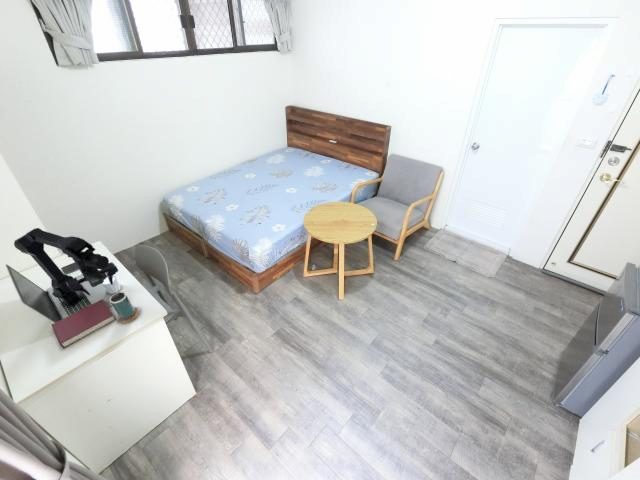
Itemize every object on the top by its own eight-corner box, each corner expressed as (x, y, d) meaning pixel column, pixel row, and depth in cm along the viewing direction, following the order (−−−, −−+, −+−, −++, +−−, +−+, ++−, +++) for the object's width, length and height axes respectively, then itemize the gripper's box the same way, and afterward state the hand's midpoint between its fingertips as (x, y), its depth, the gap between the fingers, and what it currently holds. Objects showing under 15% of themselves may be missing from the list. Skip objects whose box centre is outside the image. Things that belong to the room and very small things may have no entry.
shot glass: (115, 295, 154) (109, 285, 150) (103, 293, 155) (97, 283, 151) (124, 286, 160) (119, 276, 155) (113, 284, 161) (107, 274, 157)
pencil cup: (108, 299, 143) (106, 296, 132) (123, 292, 147) (122, 288, 136) (123, 323, 144) (122, 321, 133) (137, 315, 147) (138, 312, 137)
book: (54, 328, 138) (51, 324, 136) (105, 302, 150) (102, 298, 148) (63, 348, 130) (59, 344, 128) (115, 319, 142) (113, 315, 140)
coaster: (113, 320, 142) (113, 319, 141) (128, 306, 148) (128, 305, 148) (128, 325, 139) (128, 324, 139) (143, 310, 146) (143, 309, 146)
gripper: (65, 284, 121) (83, 310, 130) (115, 262, 132) (128, 287, 141) (58, 271, 127) (75, 297, 136) (107, 251, 138) (120, 276, 147)
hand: (101, 289), depth 140 cm, fingers open, 9 cm apart
